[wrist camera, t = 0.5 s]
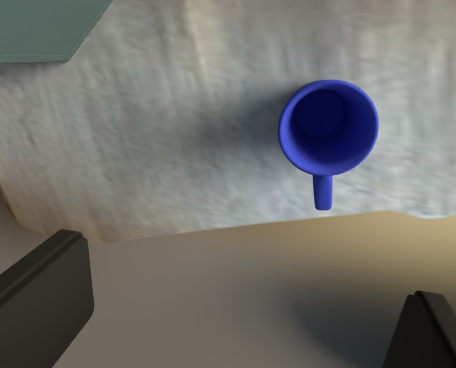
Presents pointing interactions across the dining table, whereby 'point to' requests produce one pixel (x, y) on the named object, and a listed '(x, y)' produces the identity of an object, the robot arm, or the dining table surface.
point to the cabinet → (45, 28)
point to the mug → (327, 132)
